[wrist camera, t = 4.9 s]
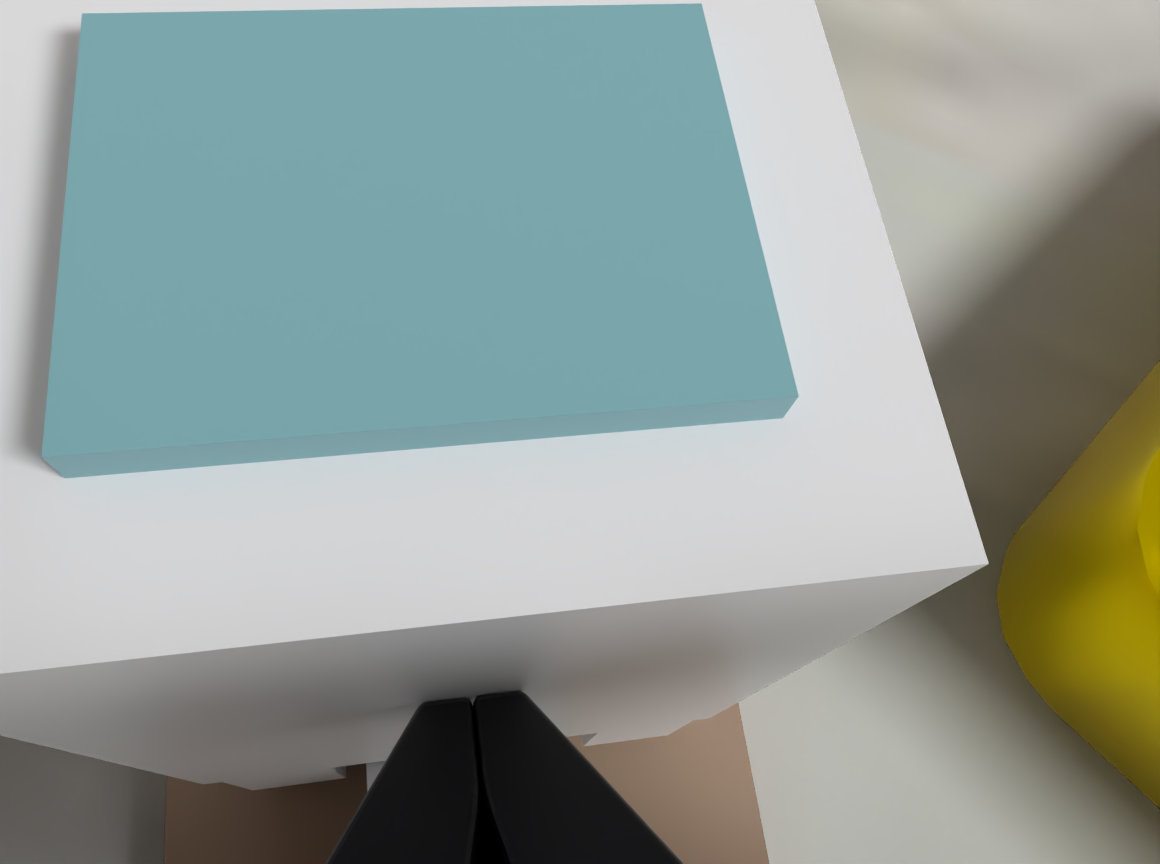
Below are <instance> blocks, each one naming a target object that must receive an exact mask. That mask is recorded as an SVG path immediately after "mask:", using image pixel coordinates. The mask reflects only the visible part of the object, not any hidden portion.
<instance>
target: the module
mask: <svg viewBox="0 0 1160 864" xmlns="http://www.w3.org/2000/svg"><path fill="white" fill-rule="evenodd" d="M988 564H989V563H988V560H987V556H986V553H985V550H984V547H983V543H982V540H981V537H980V534H979V531H978V527H977V524H976V521H975V518H974V514H973V511H972V508H971V505H970V501H969V498H968V495H967V492H966V489H965V485H964V482H963V479H962V476H961V472H960V469H959V466H958V463H957V460H956V456H955V453H954V450H953V447H952V443H951V440H950V437H949V434H948V430H947V427H946V424H945V421H944V418H943V414H942V411H941V408H940V405H939V401H938V398H937V395H936V392H935V388H934V385H933V382H932V379H931V376H930V372H929V369H928V366H927V363H926V359H925V356H924V353H923V350H922V346H921V343H920V340H919V337H918V334H917V330H916V327H915V324H914V321H913V317H912V314H911V311H910V308H909V305H908V301H907V298H906V295H905V292H904V288H903V285H902V282H901V279H900V275H899V272H898V269H897V266H896V263H895V259H894V256H893V253H892V250H891V246H890V243H889V240H888V237H887V233H886V230H885V227H884V224H883V221H882V217H881V214H880V211H879V208H878V204H877V201H876V198H875V195H874V191H873V188H872V185H871V182H870V179H869V175H868V172H867V169H866V166H865V162H864V159H863V156H862V153H861V150H860V146H859V143H858V140H857V137H856V133H855V130H854V127H853V124H852V120H851V117H850V114H849V111H848V108H847V104H846V101H845V98H844V95H843V91H842V88H841V85H840V82H839V78H838V75H837V72H836V69H835V66H834V62H833V59H832V56H831V53H830V49H829V46H828V43H827V40H826V36H825V33H824V30H823V27H822V24H821V20H820V17H819V14H818V11H817V7H816V4H815V1H814V0H0V736H4V737H8V738H13V739H17V740H21V741H25V742H29V743H33V744H38V745H42V746H46V747H50V748H54V749H58V750H62V751H67V752H71V753H75V754H79V755H83V756H87V757H92V758H96V759H100V760H104V761H108V762H112V763H116V764H121V765H125V766H129V767H133V768H137V769H141V770H146V771H150V772H154V773H158V774H162V775H166V776H170V777H175V778H179V779H183V780H187V781H191V782H195V783H200V784H211V783H219V782H223V783H227V784H231V785H235V786H238V787H242V788H246V789H249V790H260V789H267V788H275V787H282V786H290V785H297V784H305V783H312V782H320V781H327V780H335V779H343V778H346V766H348V765H356V764H364V763H371V762H379V761H386V760H387V758H388V756H389V755H390V753H391V751H392V750H393V748H394V746H395V745H396V743H397V741H398V740H399V738H400V736H401V734H402V733H403V731H404V729H405V728H406V726H407V724H408V723H409V721H410V719H411V718H412V716H413V714H414V712H415V711H416V709H417V708H418V706H419V705H421V704H422V703H424V702H429V701H437V700H445V699H454V698H468V699H469V700H470V701H471V702H472V705H473V702H474V700H475V698H477V697H478V696H480V695H487V694H495V693H503V692H511V691H522V692H524V693H526V694H527V695H528V696H529V697H530V698H531V700H532V701H533V702H534V703H535V704H536V705H537V706H538V707H539V708H540V709H541V710H542V711H543V712H544V714H545V715H546V716H547V717H548V718H549V719H550V720H551V721H552V722H553V723H554V724H555V725H556V726H557V728H558V729H559V730H560V731H561V732H562V733H563V734H564V735H565V736H566V737H570V736H577V735H582V740H583V746H591V745H598V744H606V743H613V742H621V741H628V740H636V739H644V738H651V737H659V736H666V735H669V734H671V733H673V732H674V731H676V730H678V729H680V728H681V727H683V726H685V725H686V724H688V723H690V722H692V721H693V720H699V719H707V718H711V717H712V716H714V715H716V714H718V713H720V712H721V711H723V710H725V709H727V708H729V707H731V706H732V705H734V704H736V703H738V702H740V701H741V700H743V699H745V698H747V697H749V696H750V695H752V694H754V693H756V692H758V691H759V690H761V689H763V688H765V687H767V686H769V685H770V684H772V683H774V682H776V681H778V680H779V679H781V678H783V677H785V676H787V675H788V674H790V673H792V672H794V671H796V670H797V669H799V668H801V667H803V666H805V665H807V664H808V663H810V662H812V661H814V660H816V659H817V658H819V657H821V656H823V655H825V654H826V653H828V652H830V651H832V650H834V649H836V648H837V647H839V646H841V645H843V644H845V643H846V642H848V641H850V640H852V639H854V638H855V637H857V636H859V635H861V634H863V633H864V632H866V631H868V630H870V629H872V628H874V627H875V626H877V625H879V624H881V623H883V622H884V621H886V620H888V619H890V618H892V617H893V616H895V615H897V614H899V613H901V612H902V611H904V610H906V609H908V608H910V607H912V606H913V605H915V604H917V603H919V602H921V601H922V600H924V599H926V598H928V597H930V596H931V595H933V594H935V593H937V592H939V591H941V590H942V589H944V588H946V587H948V586H950V585H951V584H953V583H955V582H957V581H959V580H960V579H962V578H964V577H966V576H968V575H969V574H971V573H973V572H975V571H977V570H979V569H980V568H982V567H984V566H986V565H988Z"/></svg>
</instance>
